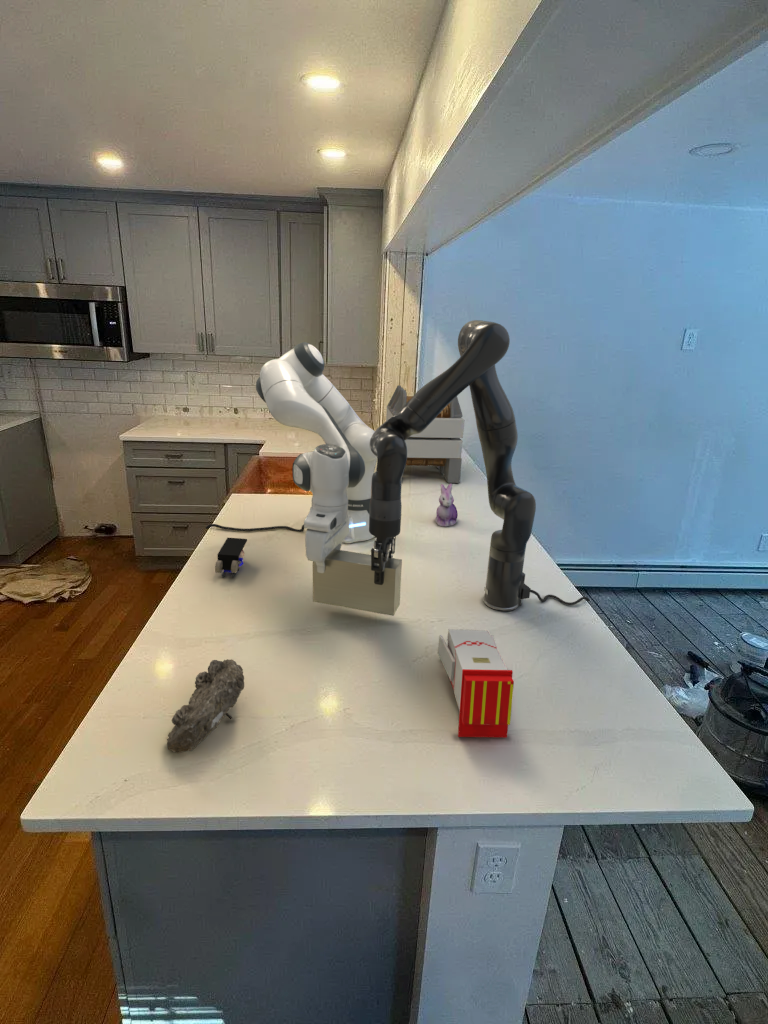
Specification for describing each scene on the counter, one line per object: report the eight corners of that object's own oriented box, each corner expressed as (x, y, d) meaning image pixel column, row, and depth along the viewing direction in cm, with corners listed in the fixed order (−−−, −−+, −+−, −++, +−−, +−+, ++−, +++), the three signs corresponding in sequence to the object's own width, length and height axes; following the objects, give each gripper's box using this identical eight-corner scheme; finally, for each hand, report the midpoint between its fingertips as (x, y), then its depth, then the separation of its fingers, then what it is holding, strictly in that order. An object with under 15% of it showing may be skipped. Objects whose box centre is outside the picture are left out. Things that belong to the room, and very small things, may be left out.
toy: (488, 613, 130) (523, 677, 101) (484, 667, 133) (517, 744, 104) (435, 612, 130) (455, 676, 101) (432, 666, 133) (451, 743, 103)
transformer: (382, 463, 289) (386, 382, 275) (445, 464, 293) (451, 384, 279) (390, 482, 257) (394, 392, 243) (460, 483, 261) (468, 394, 247)
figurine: (442, 528, 206) (446, 489, 201) (428, 519, 214) (431, 481, 209) (464, 525, 210) (468, 486, 205) (449, 516, 218) (452, 479, 213)
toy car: (238, 584, 162) (249, 557, 175) (236, 562, 158) (247, 536, 172) (215, 584, 161) (227, 556, 175) (212, 561, 158) (225, 535, 171)
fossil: (192, 660, 117) (244, 628, 112) (224, 691, 120) (276, 661, 115) (142, 746, 98) (202, 712, 93) (182, 779, 101) (242, 748, 96)
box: (312, 601, 144) (312, 556, 140) (321, 591, 149) (321, 547, 145) (393, 616, 139) (395, 569, 134) (399, 604, 144) (402, 559, 140)
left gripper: (333, 498, 148) (332, 547, 152) (300, 524, 129) (300, 578, 134) (356, 501, 146) (354, 550, 151) (326, 528, 128) (325, 583, 132)
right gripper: (392, 526, 126) (389, 593, 132) (407, 506, 139) (404, 568, 145) (360, 522, 128) (359, 588, 134) (378, 503, 141) (376, 564, 147)
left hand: (328, 564), depth 142 cm, fingers open, 8 cm apart
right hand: (382, 577), depth 140 cm, fingers closed on box, 6 cm apart
